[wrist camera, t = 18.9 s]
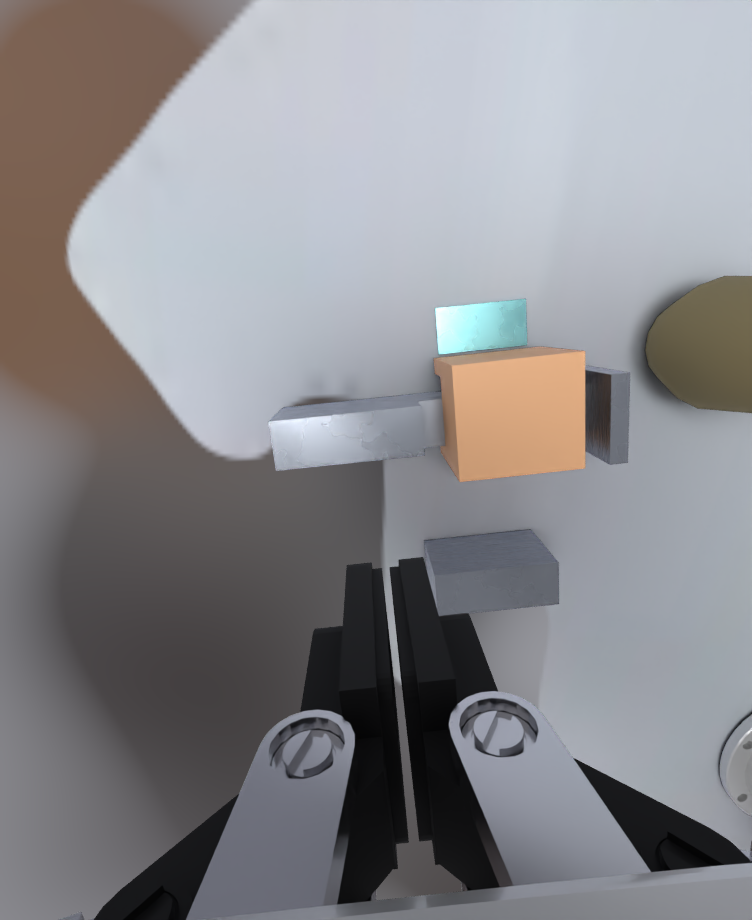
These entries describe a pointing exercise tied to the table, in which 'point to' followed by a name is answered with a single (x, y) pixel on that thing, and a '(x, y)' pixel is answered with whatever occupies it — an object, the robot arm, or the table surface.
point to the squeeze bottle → (707, 345)
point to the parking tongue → (491, 572)
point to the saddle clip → (513, 412)
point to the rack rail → (438, 404)
